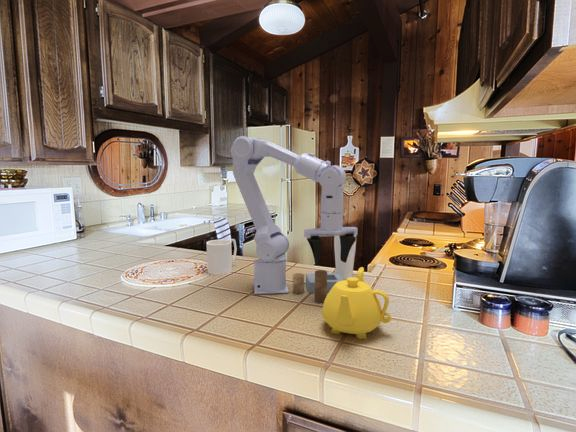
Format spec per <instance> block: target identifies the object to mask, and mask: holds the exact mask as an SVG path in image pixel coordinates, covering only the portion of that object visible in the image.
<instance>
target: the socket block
mask: <svg viewBox="0 0 576 432" xmlns="http://www.w3.org/2000/svg"><path fill="white" fill-rule="evenodd" d="M339 281H343V279H342V277H341V276H340V275H339V273H336V272H327V293H329V291H330V290H331V289H332V287H333V286H334V285H335V284H336V283H337V282H339ZM305 285H306V287H307V290H308V292H309V294H315V272H314V273H305Z"/></svg>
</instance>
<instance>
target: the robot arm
mask: <svg viewBox="0 0 576 432" xmlns="http://www.w3.org/2000/svg"><path fill="white" fill-rule="evenodd" d="M229 152H230V154H231V156H232V174H233V176H234V177H233V178H234V180H235V182H236V185H237V187H238V189H239V192H240V194H241V196H242V199H243V201H244V204H245V206H246V209H247V211H248V214H249V216H250V218H251V221H252V223H253V225H254V227H255V230H256V231H255V234H254V242H255V245H256V255H257V257H258V259H253V279H252V285H253V289H254V290H253V291H254V293H253V294H255V295H261V294H262V295H266V294H268V295H269V294H288V293H289V288H288V284H287V267H286V266H287V256H286V253H287V252H288V251H289V248H290V241H289V239H288V237H287V236H286V235H285V234H284V233H283V231H282V229H281V228H280V227H279V226H278V225H277V224H275V222H274V220H273V217H272V215H271V213H270V209H269V208H268V205H267V203H266V201H265V198H264V196H263V193H262V191H261V189H260V186H259V184H258V182H257V180H256V177H255V175H254V173H255V171H256V169H257V167H258V165H259V164H260V163H261V162H262V160H264V159H265V158H270V157H271V158H273V159H275V160H278V161H280V162H282V163H285V164H287V165H290V166H293V167H294V170H295V172H296V174H299V175H301V176H303V177H305V178H308V179H310V180H312V181H314V182H316V183H319V185H320V186H321V195H320V198H321V200H320V227H315V228H308V229H304V231H303V236H304V238H305V239H306V240H307V242H308V245H309V247H310V250H311V252H312V255H313V260H314V264H315V265H317V266H319V265H321V253H322V245H323V240H321V238H323V237H334V236H339V237H340V245H341V254H340V258H341V261H342V262H344V263H345V262H346V261H347V258H348V254H349V252H350V249H351V247H352V245H353V244H354V242H355V241H356V242H357V236H358V230H359V229H358V227H357V226H344V225H343V223H344V221H343V220H344V184H345V182H346V180H347V174H346V171H345V169H343V167H341V166H340V165H337V164H334V165H332V164H331V161H330V160H326V161H325V160H323V159H320V158H318V157H315V156H316V155H315V153H313V152H308V153H307V152H304V153H302V154H297V153H295V152H294V151H290V150H289V149H287V148H286V147H283V146H280V145H279V144H276V143H274V142H273V141H269V140H264V139H262V138H260V137H249V136H245V135H240V136H238V137H236V138H235V140H234V141H233V143H232V145H231V147H230V150H229ZM354 235H356V237H355V236H354Z"/></svg>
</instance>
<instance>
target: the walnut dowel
mask: <svg viewBox="0 0 576 432" xmlns="http://www.w3.org/2000/svg"><path fill="white" fill-rule="evenodd" d="M314 273H315V293H314V302H315V303H316V304H320V303H323V304H324V301H325V298H326V296H327V295H328V292H327V273H328V271H327V270H323V269H319V270H315V271H314Z"/></svg>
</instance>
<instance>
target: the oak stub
mask: <svg viewBox="0 0 576 432" xmlns="http://www.w3.org/2000/svg"><path fill="white" fill-rule="evenodd" d="M292 293H293V294H295V295H302V294H304V293H305V274H304V273H301V272H297V273H294V274H292Z"/></svg>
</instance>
